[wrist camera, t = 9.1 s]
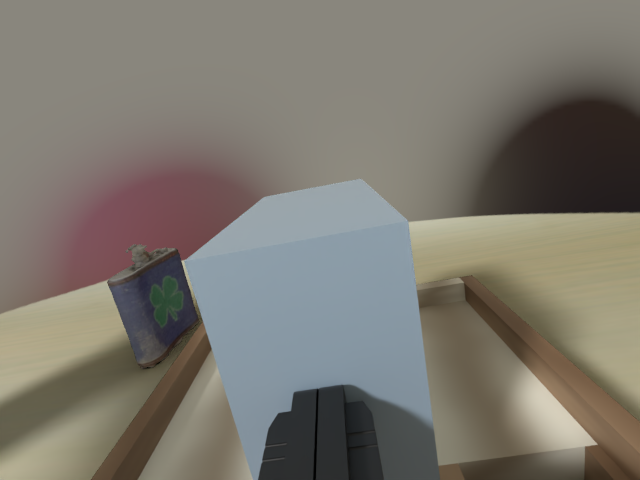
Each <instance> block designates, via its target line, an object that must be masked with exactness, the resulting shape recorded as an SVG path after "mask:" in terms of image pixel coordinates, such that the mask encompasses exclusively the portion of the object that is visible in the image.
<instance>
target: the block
mask: <svg viewBox="0 0 640 480" xmlns="http://www.w3.org/2000/svg"><path fill="white" fill-rule="evenodd" d="M184 262H185V265H186V268H187V272H188V275H189V278H190V281H191V284H192V288H193V291H194V294H195V297H196V300H197V303H198V307H199V310H200V313H201V316H202V319H203V323H204V326H205V329H206V332H207V335H208V338H209V342H210V345H211V348H212V351H213V354H214V358H215V361H216V364H217V367H218V370H219V373H220V377H221V380H222V383H223V386H224V389H225V392H226V396H227V399H228V402H229V405H230V408H231V412H232V415H233V418H234V421H235V424H236V427H237V431H238V434H239V437H240V440H241V443H242V447H243V450H244V453H245V456H246V459H247V462H248V466H249V469H250V472H251V475H252V478H253V480H258V477H259V472H260V467H261V463H262V458H263V453H264V449H265V443H266V438H267V433H268V428H269V427H270V425H271V424H272V422H273V420H274V419H275V417H276V416H277V414H278V413H282V412H288V411H291V406H292V399H293V393H294V392H296V391H303V390H309V389H316V388H318V389H319V388H322V387H329V386H335V385H342V384H343V386H344V391H345V396H346V401H347V403H349V402H356V401H363V402H364V403H365V404H366V406H367V407H368V408H369V410H370V411H371V412H372V415H373V420H374V426H375V431H376V437H377V442H378V448H379V453H380V459H381V465H382V470H383V476H384V480H440V474H439V466H438V458H437V450H436V442H435V434H434V426H433V418H432V410H431V402H430V394H429V386H428V378H427V370H426V362H425V354H424V346H423V338H422V329H421V321H420V313H419V305H418V297H417V289H416V281H415V273H414V265H413V257H412V249H411V241H410V233H409V225H408V220H406V219H405V218H404V217H403V216H402V215H401V214H400V213H399V212H397V211H396V210H395V209H394V208H393V207H392V206H391V205H390V204H389V203H388V202H386V201H385V200H384V199H383V198H382V197H381V196H380V195H378V193H376V192H375V191H374V190H373V189H372V188H371V187H370V186H369V185H367V184H366V183H365V182H364V181H363V180H362V179H357V180H351V181H347V182H341V183H335V184H330V185H325V186H320V187H314V188H309V189H304V190H299V191H293V192H288V193H283V194H278V195H273V196H268V197H264V198H262V199H261V200H260V201H259V202H258V203H256V204H255V205H254V206H253V207H251V208H250V209H249V210H248V211H246V212H245V213H244V214H242V215H241V216H240V217H239V218H238V219H237V220H235V221H234V222H232V223H231V224H230V225H229V226H228V227H226V228H225V229H224V230H223V231H221V232H220V233H219V234H217V235H216V236H215V237H214V238H213V239H211V240H210V241H209V242H208V243H206V244H205V245H204V246H203V247H201V248H200V249H199V250H198V251H196V252H195V253H194V254H193V255H191V256H190V257H189V258H188V259H186V260H185V261H184Z"/></svg>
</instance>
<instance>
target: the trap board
mask: <svg viewBox="0 0 640 480" xmlns="http://www.w3.org/2000/svg"><path fill="white" fill-rule="evenodd" d="M416 289H417V297H418V305H419V313H420V321H421V329H422V338H423V346H424V354H425V362H426V370H427V378H428V386H429V394H430V402H431V410H432V418H433V426H434V434H435V442H436V450H437V458H438V466H439V474H440V480H640V422H639V421H638V420H637V419H636V418H635V417H633V416H632V415H631V414H630V413H629V412H628V411H627V410H625V409H624V408H623V407H622V406H621V405H620V404H619V403H617V402H616V401H615V400H614V399H613V398H612V397H611V396H609V395H608V394H607V393H606V392H605V391H604V390H603V389H601V388H600V387H599V386H598V385H597V384H596V383H595V382H593V381H592V380H591V379H590V378H589V377H588V376H587V375H585V374H584V373H583V372H582V371H581V370H580V369H579V368H577V367H576V366H575V365H574V364H573V363H572V362H570V361H569V360H568V359H567V358H566V357H565V356H564V355H562V354H561V353H560V352H559V351H558V350H557V349H556V348H554V347H553V346H552V345H551V344H550V343H549V342H548V341H546V340H545V339H544V338H543V337H542V336H541V335H540V334H538V333H537V332H536V331H535V330H534V329H533V328H532V327H530V326H529V325H528V324H527V323H526V322H525V321H524V320H522V319H521V318H520V317H519V316H518V315H517V314H516V313H514V312H513V311H512V310H511V309H510V308H509V307H508V306H506V305H505V304H504V303H503V302H502V301H501V300H499V299H498V298H497V297H496V296H495V295H494V294H493V293H491V292H490V291H489V290H488V289H487V288H486V287H485V286H483V285H482V284H481V283H480V282H479V281H478V280H477V279H475V278H474V277H473V276H472V275H471V276H465V277H459V278H453V279H447V280H441V281H435V282H429V283H424V284H418V285H416ZM91 480H253V478H252V475H251V472H250V469H249V466H248V462H247V459H246V456H245V453H244V450H243V447H242V443H241V440H240V437H239V434H238V431H237V427H236V424H235V421H234V418H233V415H232V412H231V408H230V405H229V402H228V399H227V396H226V392H225V389H224V386H223V383H222V380H221V377H220V373H219V370H218V367H217V364H216V361H215V358H214V354H213V351H212V348H211V345H210V342H209V338H208V335H207V332H206V329H205V326H204V323H203V322H202V323H201V325H200V326H199V327H198V329H197V330H196V332H195V333H194V334H193V336H192V337H191V339H190V340H189V342H188V343H187V344H186V346H185V347H184V349H183V350H182V351H181V353H180V354H179V356H178V357H177V359H176V360H175V361H174V363H173V364H172V366H171V367H170V368H169V370H168V371H167V373H166V374H165V376H164V377H163V378H162V380H161V381H160V383H159V384H158V385H157V387H156V388H155V390H154V391H153V393H152V394H151V395H150V397H149V398H148V400H147V401H146V402H145V404H144V405H143V407H142V408H141V410H140V411H139V412H138V414H137V415H136V417H135V418H134V419H133V421H132V422H131V424H130V425H129V427H128V428H127V429H126V431H125V432H124V434H123V435H122V436H121V438H120V439H119V441H118V442H117V444H116V445H115V446H114V448H113V449H112V451H111V452H110V453H109V455H108V456H107V458H106V459H105V461H104V462H103V463H102V465H101V466H100V468H99V469H98V470H97V472H96V473H95V475H94V476H93V478H92V479H91Z"/></svg>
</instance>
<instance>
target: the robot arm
mask: <svg viewBox="0 0 640 480" xmlns="http://www.w3.org/2000/svg"><path fill="white" fill-rule="evenodd" d="M258 480H384V476H383V470H382V465H381V459H380V453H379V448H378V442H377V437H376V431H375V426H374V420H373V415H372V412H371V411H370V410H369V408H368V407H367V406H366V404H365V403H364V402H363V401H356V402H349V403H347V401H346V396H345V391H344V386H343V384H342V385H335V386H329V387H322V388H319V389H318V388H316V389H309V390H303V391H296V392H294V393H293V399H292V406H291V411H288V412H282V413H278V414H277V416H276V417H275V419H274V420H273V422H272V424H271V425H270V427H269V428H268V433H267V438H266V443H265V449H264V453H263V458H262V463H261V467H260V472H259V477H258Z"/></svg>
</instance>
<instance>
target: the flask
mask: <svg viewBox="0 0 640 480" xmlns="http://www.w3.org/2000/svg"><path fill="white" fill-rule="evenodd" d="M146 247H147V246H142V245H141V244H140V245H138V246H137V245H135V244H134V245H132V246H131V247H129V248H128V250H131V251H132V253H133V257H132V261H133V262H134V263H135V264H134V265H132V266H130V267H128V268H126V269H125V270H123V271H121V272H120V273H118V274H116V275H114V276H113V277H112V278H110V279H109V280H108V282H107V283H108V286H109V288H110V290H111V292H112V295H113V298H114V301H115V303H116V305H117V308H118V311H119V313H120V316H121V319H122V322H123V325H124V327H125V329H126V332H127V334H128V337H129V340H130V343H131V346H132V349H133V351H134V354H135V357H136V361H137V363H138V365H139V366H140V365H142V366H144V367H142V366H140V367H141V368H143V369H144V368H145V367H146V368H147V367H154V366H155V364H157V363H158V362H159V361H162V360H163V359H165V358H166V357H167V356H168V355H169V354H168V353H169V352H170V351H171V350H172V349H173V348H174V347H176V346H177V345H178V344H179V343H180V342H181V341H182V338H183V336H184V335H186V334H188V331H189V330H191V329H192V328H193V327H194V326H195V325H196V324H197V323H199V319H198V316H197V314H196V311H195V307H194V304H193V300H192V296H191V292H190V289H189V286H188V283H187V280H186V276H185V273H184V269H183V265H182V262H181V258H180V254H179V253H178V250H177V249H176V248H171V249H170V248H169V249H168V248H163V249H156V250H154V251H152V252H151V253H149V252H146V251H145V250H144V248H146ZM133 248H134V249H133ZM155 252H156V253H155ZM126 253H128V251H127V250H126ZM154 253H155V254H154Z"/></svg>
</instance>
